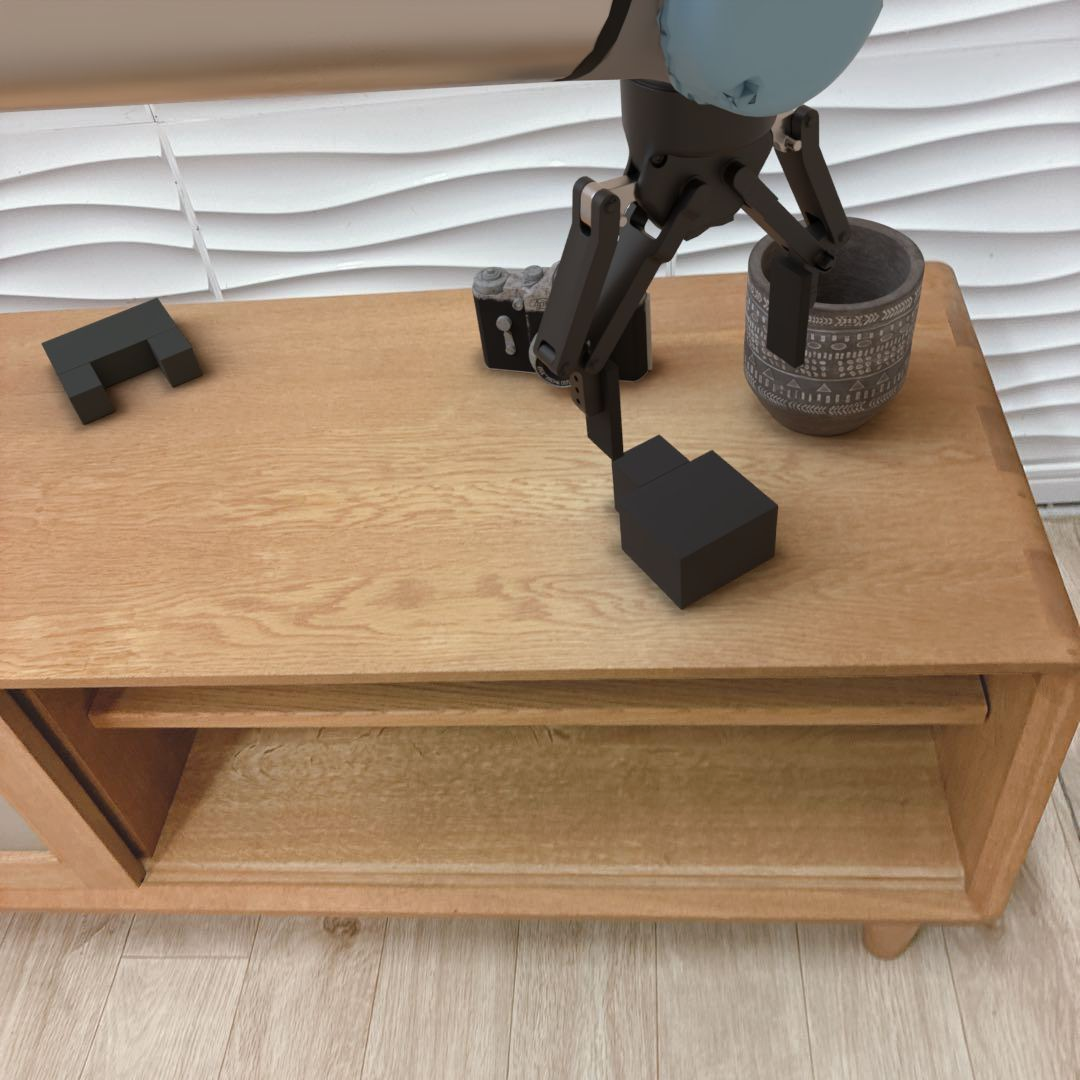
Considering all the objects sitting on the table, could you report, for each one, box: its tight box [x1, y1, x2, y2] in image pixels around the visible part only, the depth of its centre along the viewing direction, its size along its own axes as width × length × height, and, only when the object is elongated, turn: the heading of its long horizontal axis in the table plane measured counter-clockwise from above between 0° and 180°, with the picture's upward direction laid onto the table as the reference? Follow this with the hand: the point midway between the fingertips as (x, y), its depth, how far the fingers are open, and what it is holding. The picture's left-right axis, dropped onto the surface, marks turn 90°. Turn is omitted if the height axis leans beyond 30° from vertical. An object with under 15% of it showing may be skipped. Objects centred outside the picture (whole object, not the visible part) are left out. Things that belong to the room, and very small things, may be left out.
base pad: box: [41, 297, 204, 425], centre depth 96 cm, size 11×10×3 cm
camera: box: [471, 260, 653, 389], centre depth 87 cm, size 15×7×10 cm, turn 74°
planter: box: [743, 215, 926, 437], centre depth 80 cm, size 12×12×13 cm
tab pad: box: [610, 434, 779, 610], centre depth 75 cm, size 8×11×5 cm
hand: (698, 400), depth 65 cm, fingers open, 13 cm apart
